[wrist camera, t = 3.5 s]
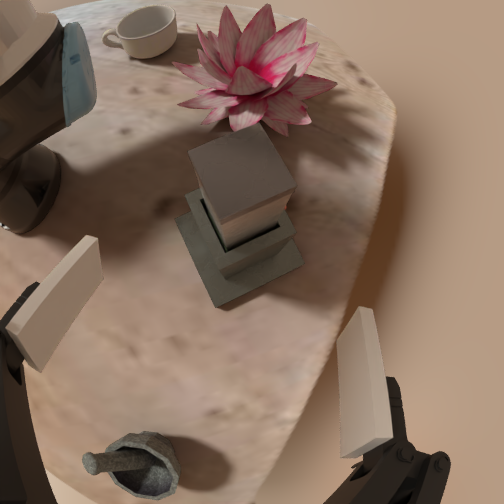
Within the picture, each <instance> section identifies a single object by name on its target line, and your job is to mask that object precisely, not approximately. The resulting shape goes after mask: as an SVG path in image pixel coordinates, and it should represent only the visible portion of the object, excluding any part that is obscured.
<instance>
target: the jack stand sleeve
mask: <svg viewBox="0 0 504 504" xmlns="http://www.w3.org/2000/svg"><path fill="white" fill-rule="evenodd" d="M185 198H186V200H187V202H188V204H189V207H190V209H191V211H190V212H188V213H186V214H184V215H182V216H180V217H178V218H175V221H176V223H177V226H178V228H179V230H180V233H181V235H182V237H183V239H184V242H185V244H186V246H187V248H188V251H189V253H190V255H191V257H192V259H193V262H194V264H195V266H196V268H197V270H198V272H199V275H200V277H201V279H202V281H203V283H204V285H205V287H206V289H207V291H208V294H209V296H210V298H211V300H212V302H213V304H214V306H215V308H216V307H219V306H221V305H223V304H225V303H227V302H229V301H231V300H233V299H235V298H237V297H239V296H241V295H243V294H246V293H248V292H250V291H252V290H254V289H256V288H258V287H260V286H262V285H264V284H266V283H268V282H270V281H272V280H274V279H276V278H278V277H280V276H282V275H284V274H286V273H288V272H290V271H292V270H294V269H296V268H298V267H300V266H302V265H303V264H305V262H304V260H303V258H302V256H301V254H300V252H299V250H298V248H297V246H296V244H295V242H294V241H293V239H292V238H293V236H294V235H295V234H296V233H297V232H296V230H295V228H294V226H293V224H292V222H291V220H290V219H289V217H288V215H287V213H286V211H285V210H286V208H287V207H286V206H285V208H284V210H283V212H282V214H281V216H280V218H279V220H278V222H277V224H276V226H275V228H274V230H273V231H271V232H269V233H267V234H264V235H262V236H260V237H258V238H256V239H254V240H252V241H250V242H248V243H246V244H243V245H241V246H239V247H237V248H235V249H233V250H231V251H229V252H227V253H225V252H224V250H223V248H222V246H221V244H220V242H219V240H218V238H217V236H216V234H215V231H214V229H213V226H212V223H211V220H210V217H209V215H208V213H207V210H206V209H207V208H206V205H205V202H204V199H203V196H202V193H201V190H200V188H198V189H196V190H194V191H192V192H189V193H187V194H185Z"/></svg>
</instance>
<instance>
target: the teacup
mask: <svg viewBox="0 0 504 504" xmlns="http://www.w3.org/2000/svg"><path fill="white" fill-rule="evenodd" d="M108 35H115V36H117V37H118V38H119V39H120V41H121V42H114V41H111V40H109V39H108V38H107V36H108ZM176 38H177V24H176V13H175V10H174V9H173V8H171V7H170V6H166V5H150V6H145V7H142V8H139V9H137V10H134V11H133V12H131V13H129V14H128V15H126V16H125V17H124V18H123V19H122V20H121V21H120V22H119V24H118V25H117V28H116V29H108V30H107V31H105V32H104V34H103V36H102V42H103V43H104V44H105V45H106V46H109V47H114V48H121V49H124V50H125V51H126V52H127V54H128V55H130V56H132V57H134V58H141V59H143V58H152V57H155V56H158V55H160V54H162V53H163V52H165V51H166V50H168V49H169V48H170V47H171V46H172V45H173V44H174V42H175V40H176Z"/></svg>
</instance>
